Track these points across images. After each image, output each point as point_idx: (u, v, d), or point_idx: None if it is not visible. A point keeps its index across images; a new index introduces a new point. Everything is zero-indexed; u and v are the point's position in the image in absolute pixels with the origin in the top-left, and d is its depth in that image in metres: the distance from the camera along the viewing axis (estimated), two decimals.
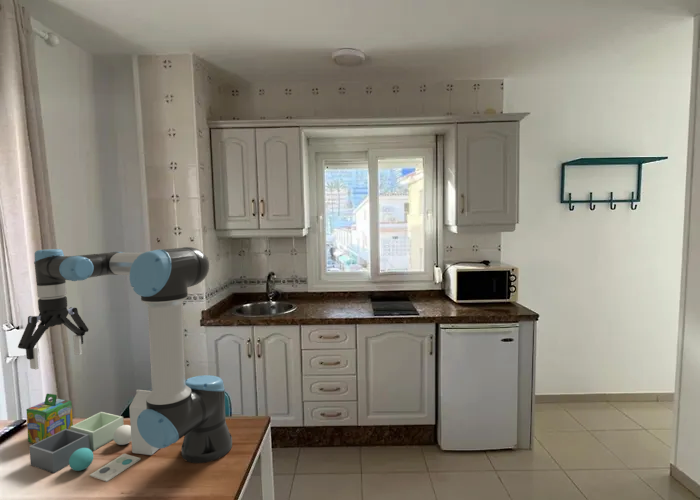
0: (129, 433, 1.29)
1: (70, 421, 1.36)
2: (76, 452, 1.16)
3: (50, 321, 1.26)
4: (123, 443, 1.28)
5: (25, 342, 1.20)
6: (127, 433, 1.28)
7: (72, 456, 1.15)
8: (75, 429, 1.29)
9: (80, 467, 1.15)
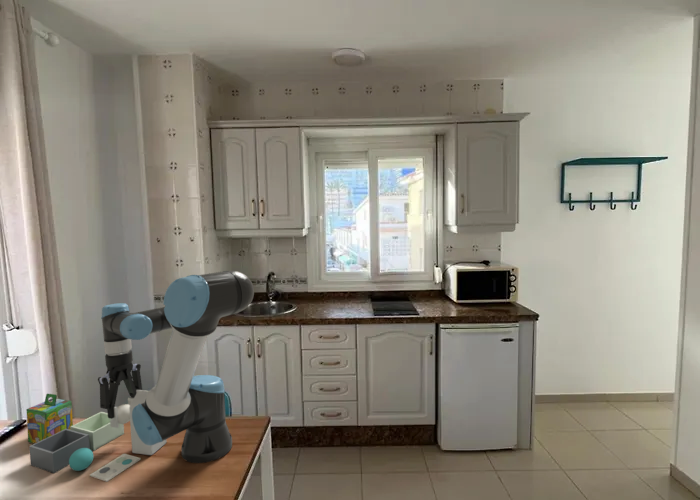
0: (129, 411, 1.28)
1: (70, 421, 1.36)
2: (76, 452, 1.16)
3: (119, 377, 1.26)
4: (123, 422, 1.27)
5: (106, 403, 1.22)
6: (127, 411, 1.27)
7: (72, 456, 1.15)
8: (75, 429, 1.29)
9: (80, 467, 1.15)
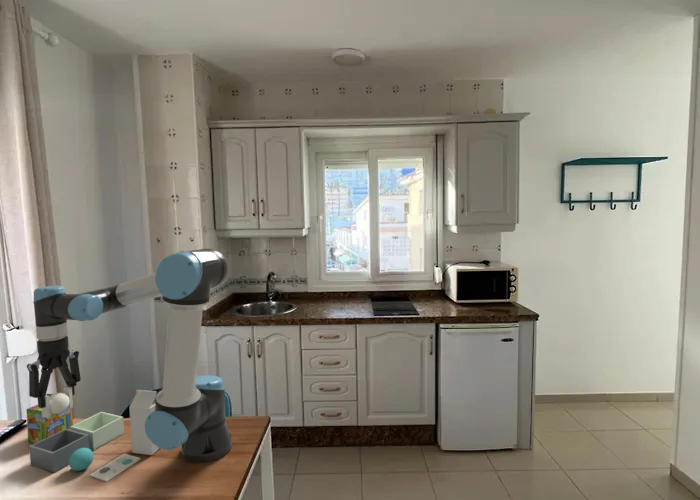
0: (62, 401, 1.20)
1: (70, 421, 1.36)
2: (76, 452, 1.16)
3: (51, 365, 1.18)
4: (55, 411, 1.19)
5: (35, 391, 1.14)
6: (60, 401, 1.19)
7: (72, 456, 1.15)
8: (75, 429, 1.29)
9: (80, 467, 1.15)
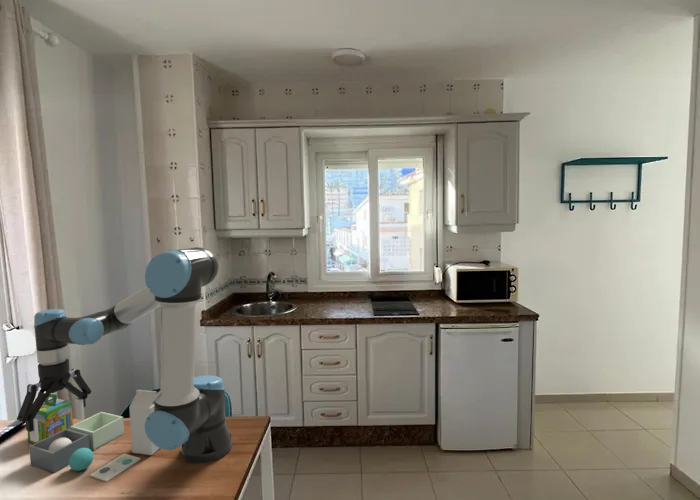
0: None
1: (70, 421, 1.36)
2: (76, 452, 1.16)
3: (51, 388, 1.18)
4: None
5: (24, 414, 1.12)
6: (63, 446, 1.20)
7: (72, 456, 1.15)
8: (75, 429, 1.29)
9: (80, 467, 1.15)
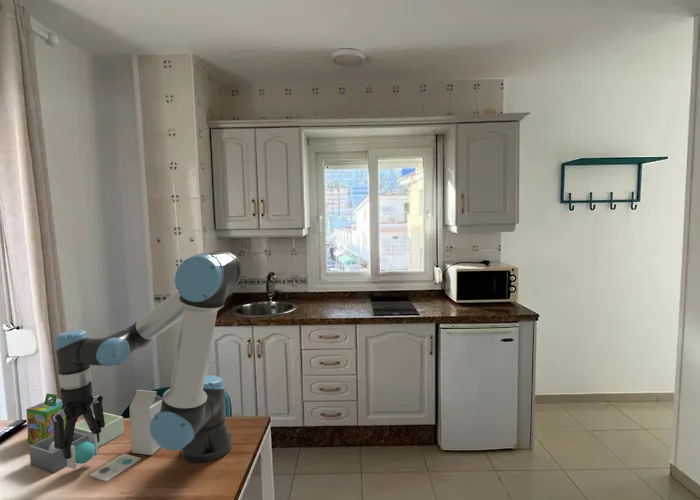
0: None
1: None
2: (78, 445, 1.15)
3: (76, 413, 1.14)
4: None
5: (60, 443, 1.10)
6: None
7: None
8: (75, 429, 1.29)
9: (82, 460, 1.14)
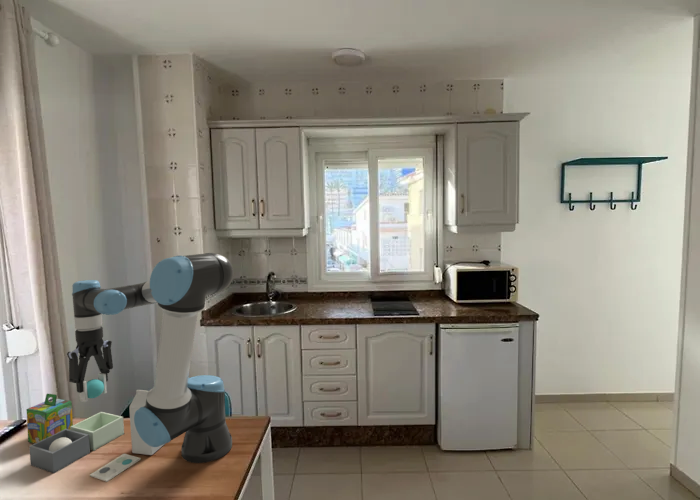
0: None
1: (70, 421, 1.36)
2: (89, 382, 1.29)
3: (89, 353, 1.28)
4: None
5: (75, 377, 1.24)
6: (63, 446, 1.20)
7: None
8: (75, 429, 1.29)
9: (92, 394, 1.29)
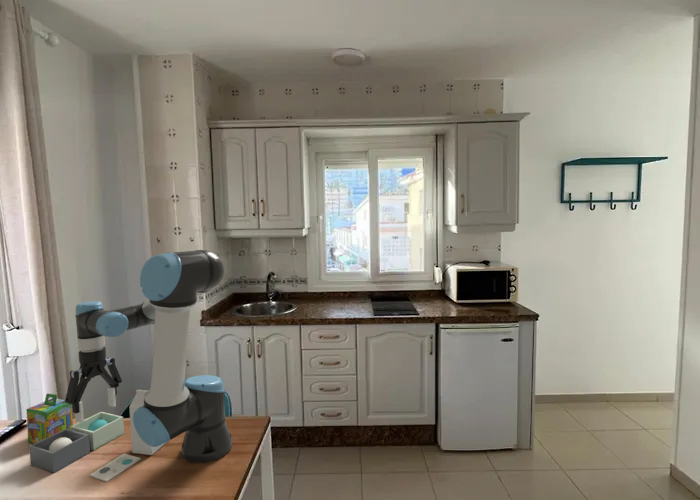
0: None
1: (70, 421, 1.36)
2: (94, 422, 1.32)
3: (91, 373, 1.29)
4: None
5: (71, 397, 1.24)
6: (63, 446, 1.20)
7: (90, 426, 1.31)
8: (75, 429, 1.29)
9: None
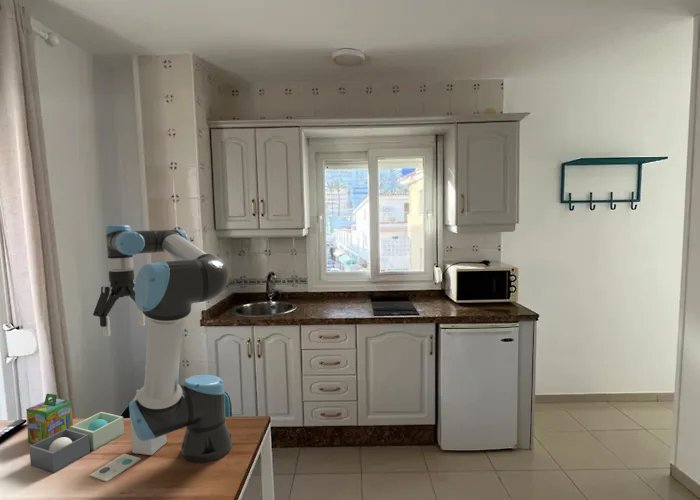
0: None
1: (70, 421, 1.36)
2: (94, 422, 1.32)
3: (120, 292, 1.35)
4: None
5: (100, 310, 1.29)
6: None
7: (90, 425, 1.31)
8: (75, 429, 1.29)
9: None
